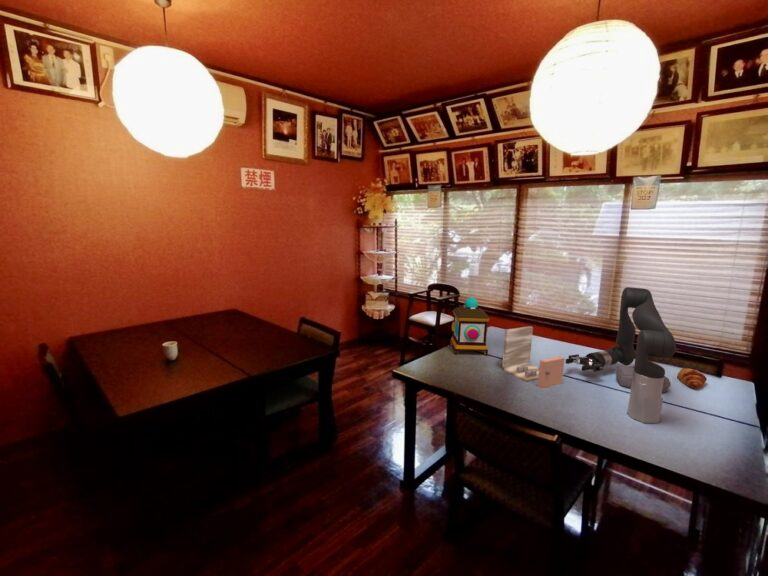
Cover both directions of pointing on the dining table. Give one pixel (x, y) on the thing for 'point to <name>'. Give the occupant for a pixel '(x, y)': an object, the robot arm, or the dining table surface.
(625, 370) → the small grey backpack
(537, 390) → the dining table surface
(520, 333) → the wooden bookend stand
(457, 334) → the decorative lantern
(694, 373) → the croissant
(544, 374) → the door
